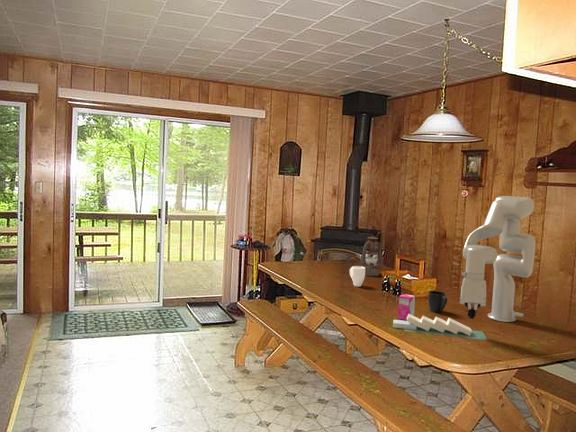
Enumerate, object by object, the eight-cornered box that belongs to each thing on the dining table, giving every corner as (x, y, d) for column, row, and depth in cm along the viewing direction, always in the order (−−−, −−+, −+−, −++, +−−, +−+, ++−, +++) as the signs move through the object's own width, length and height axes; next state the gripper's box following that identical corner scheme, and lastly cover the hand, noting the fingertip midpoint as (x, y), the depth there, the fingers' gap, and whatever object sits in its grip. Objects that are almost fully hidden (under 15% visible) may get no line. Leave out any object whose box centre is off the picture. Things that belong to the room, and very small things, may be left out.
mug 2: (367, 286, 297) (368, 268, 296) (356, 287, 293) (357, 268, 292) (354, 282, 308) (355, 264, 307) (344, 283, 304) (345, 265, 303)
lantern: (356, 273, 337) (359, 222, 334) (375, 272, 344) (378, 222, 342) (365, 276, 328) (368, 224, 325) (385, 275, 335) (388, 224, 332)
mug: (437, 315, 240) (438, 296, 239) (424, 309, 252) (425, 290, 251) (452, 315, 242) (453, 296, 242) (438, 308, 254) (439, 290, 253)
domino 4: (457, 326, 216) (435, 316, 218) (458, 330, 211) (436, 319, 213) (455, 330, 216) (433, 320, 218) (456, 334, 211) (434, 323, 213)
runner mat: (482, 332, 217) (482, 331, 217) (487, 340, 205) (487, 340, 205) (403, 323, 224) (403, 322, 224) (403, 331, 213) (404, 330, 213)
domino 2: (429, 323, 219) (408, 313, 220) (430, 327, 213) (408, 316, 215) (427, 327, 219) (406, 317, 221) (428, 331, 214) (406, 320, 215)
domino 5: (470, 328, 215) (448, 317, 217) (472, 331, 210) (449, 321, 211) (468, 332, 215) (446, 321, 217) (469, 335, 210) (447, 325, 212)
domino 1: (416, 321, 220) (393, 319, 222) (416, 325, 215) (393, 322, 217) (415, 326, 220) (393, 323, 222) (416, 329, 215) (392, 327, 217)
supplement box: (402, 317, 235) (404, 293, 234) (414, 319, 231) (415, 296, 230) (397, 319, 231) (398, 295, 230) (408, 322, 227) (410, 298, 226)
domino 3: (444, 325, 217) (422, 315, 219) (445, 328, 212) (423, 318, 214) (442, 329, 218) (420, 319, 219) (443, 332, 212) (421, 322, 214)
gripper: (457, 276, 208) (453, 318, 210) (494, 279, 205) (491, 322, 207) (455, 273, 216) (452, 313, 217) (491, 276, 212) (488, 317, 214)
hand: (471, 318), depth 212 cm, fingers closed
